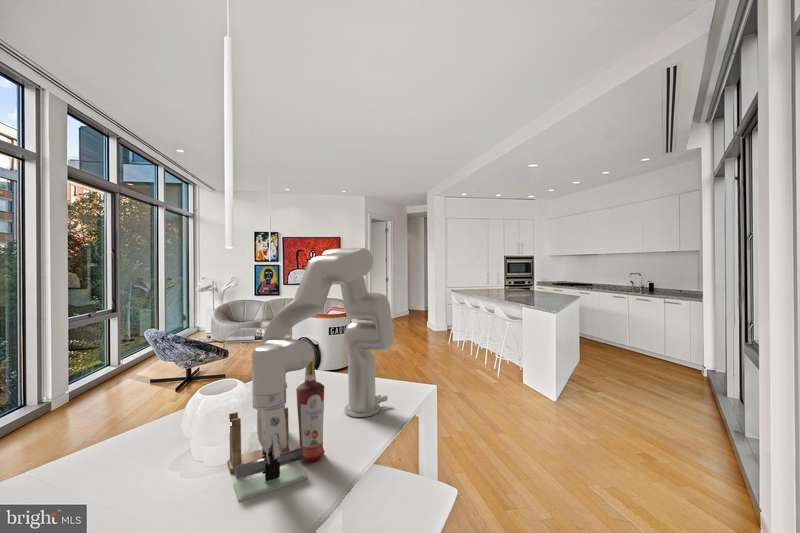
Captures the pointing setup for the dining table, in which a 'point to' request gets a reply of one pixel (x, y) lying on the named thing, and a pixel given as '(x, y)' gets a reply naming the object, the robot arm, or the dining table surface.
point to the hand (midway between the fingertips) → (270, 474)
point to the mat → (268, 483)
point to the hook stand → (236, 443)
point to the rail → (259, 464)
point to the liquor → (311, 415)
